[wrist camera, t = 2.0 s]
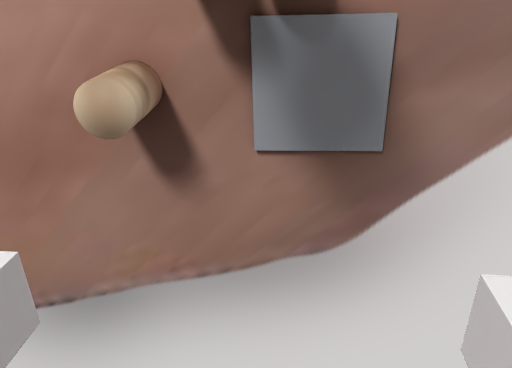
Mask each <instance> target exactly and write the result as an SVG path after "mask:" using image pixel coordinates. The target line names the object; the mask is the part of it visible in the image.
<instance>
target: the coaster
mask: <svg viewBox="0 0 512 368" xmlns="http://www.w3.org/2000/svg"><path fill="white" fill-rule="evenodd" d="M397 14H398V13H396V12H393V13H348V14H303V15H258V16H250V21H251V54H252V87H253V119H254V150H277V151H382V149H383V140H384V131H385V122H386V113H387V104H388V95H389V86H390V77H391V68H392V59H393V50H394V41H395V32H396V23H397Z"/></svg>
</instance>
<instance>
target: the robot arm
mask: <svg viewBox="0 0 512 368" xmlns="http://www.w3.org/2000/svg"><path fill="white" fill-rule="evenodd" d="M39 323H40V321H39V318H38V314H37V311H36V308H35V305H34V302H33V298H32V295H31V292H30V289H29V286H28V283H27V279H26V276H25V273H24V270H23V267H22V263H21V260H20V257H19V254H18V252H6V251H0V368H5V367H6V366H7V365H8V363H9V362H10V361H11V360H12V358H13V357H14V356H15V354H16V353H17V352H18V351H19V349H20V348H21V347H22V345H23V344H24V343H25V341H26V340H27V339H28V337H29V336H30V335H31V334H32V332H33V331H34V330H35V328H36V327H37V326H38V325H39ZM461 351H462V354H463V356H464V359H465V361H466V363H467V366H468V368H512V276H506V275H485V274H481V275H480V279H479V283H478V287H477V290H476V294H475V298H474V302H473V306H472V309H471V314H470V317H469V321H468V325H467V329H466V332H465V336H464V340H463V344H462V348H461Z"/></svg>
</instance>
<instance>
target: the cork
mask: <svg viewBox="0 0 512 368" xmlns="http://www.w3.org/2000/svg"><path fill="white" fill-rule="evenodd" d="M161 96H162V84H161V80H160V78H159V76H158V75H157V73H156V72H155V71H154V70H153V69H152V68H151V67H150V66H149V65H147V64H145V63H143V62H140V61H128V62H125V63H122V64H120V65H118V66H116V67H114V68H112V69H110V70H108V71H106V72H104V73H102V74H100V75H98V76H96V77H94V78H92V79H90V80H88V81H86V82H85V83H83V84H82V85H81V86H80V87H79V88H78V89H77V91H76V93H75V96H74V101H73V106H74V112H75V115H76V117H77V119H78V121H79V122H80V124H81V125H82V126H83V127H84V128H85V129H86V130H87V131H88V132H89V133H91V134H92V135H94V136H96V137H99V138H102V139H116V138H119V137H121V136H123V135H125V134H126V133H127V132H128V131H129V130H130V129H132V128H133V127H134V126H135V125H136V124H137V123H138V122H139V121H140V120H141V119H142V118H143V117H145V116H146V115H147V114H148V113H149V112H150V111H151V110H152V109H153V108H154V107H155V106H156V105H157V104H158V103H159V101H160V99H161Z"/></svg>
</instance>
